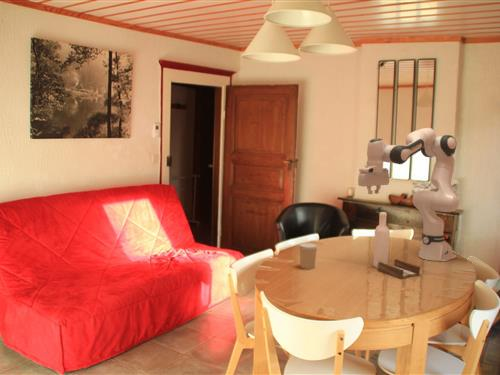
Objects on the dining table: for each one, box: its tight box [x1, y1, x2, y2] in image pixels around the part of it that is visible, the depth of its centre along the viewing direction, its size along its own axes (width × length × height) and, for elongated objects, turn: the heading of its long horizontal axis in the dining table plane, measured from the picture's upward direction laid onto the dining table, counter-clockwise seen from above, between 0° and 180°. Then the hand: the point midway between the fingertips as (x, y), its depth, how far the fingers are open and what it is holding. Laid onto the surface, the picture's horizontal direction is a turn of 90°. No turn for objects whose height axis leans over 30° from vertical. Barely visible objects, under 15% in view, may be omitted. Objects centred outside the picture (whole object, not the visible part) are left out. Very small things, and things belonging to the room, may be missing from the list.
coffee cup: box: [299, 242, 318, 270], centre depth 274 cm, size 9×9×12 cm
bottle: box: [372, 211, 390, 269], centre depth 276 cm, size 8×8×30 cm
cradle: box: [377, 258, 421, 280], centre depth 266 cm, size 14×16×4 cm
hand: (373, 193), depth 279 cm, fingers open, 3 cm apart
